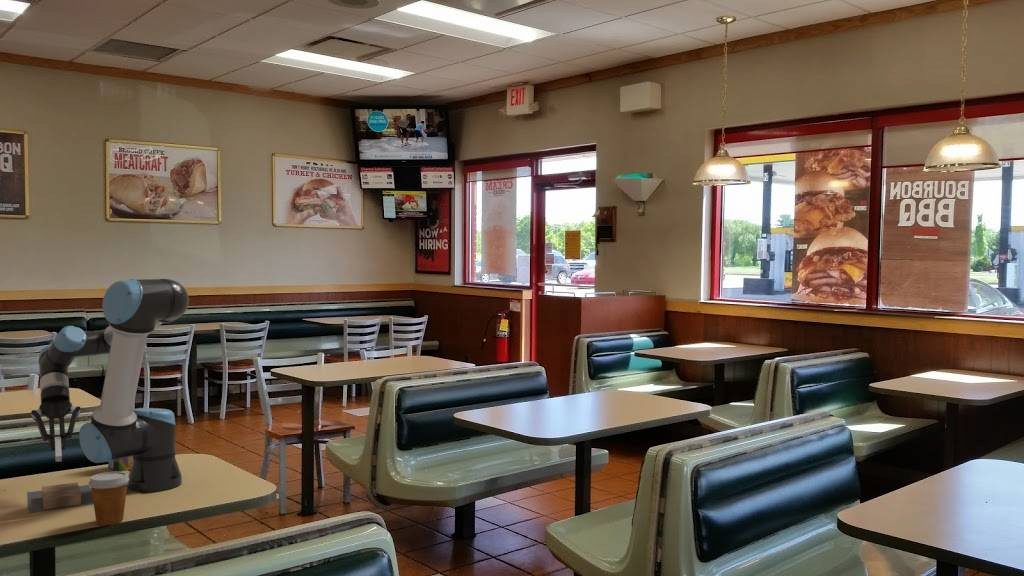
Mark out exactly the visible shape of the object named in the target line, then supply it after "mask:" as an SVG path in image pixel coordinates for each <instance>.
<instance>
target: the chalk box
mask: <svg viewBox="0 0 1024 576" xmlns="http://www.w3.org/2000/svg"><path fill="white" fill-rule="evenodd" d="M107 463H108V464H107V466H108V467H107V468H108V469H111V470H113V472H126V471H129V472H130V470H131V467H132V464H133V456H129V457H125V458H120V459H116V460H112V461H110V462H107Z"/></svg>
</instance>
